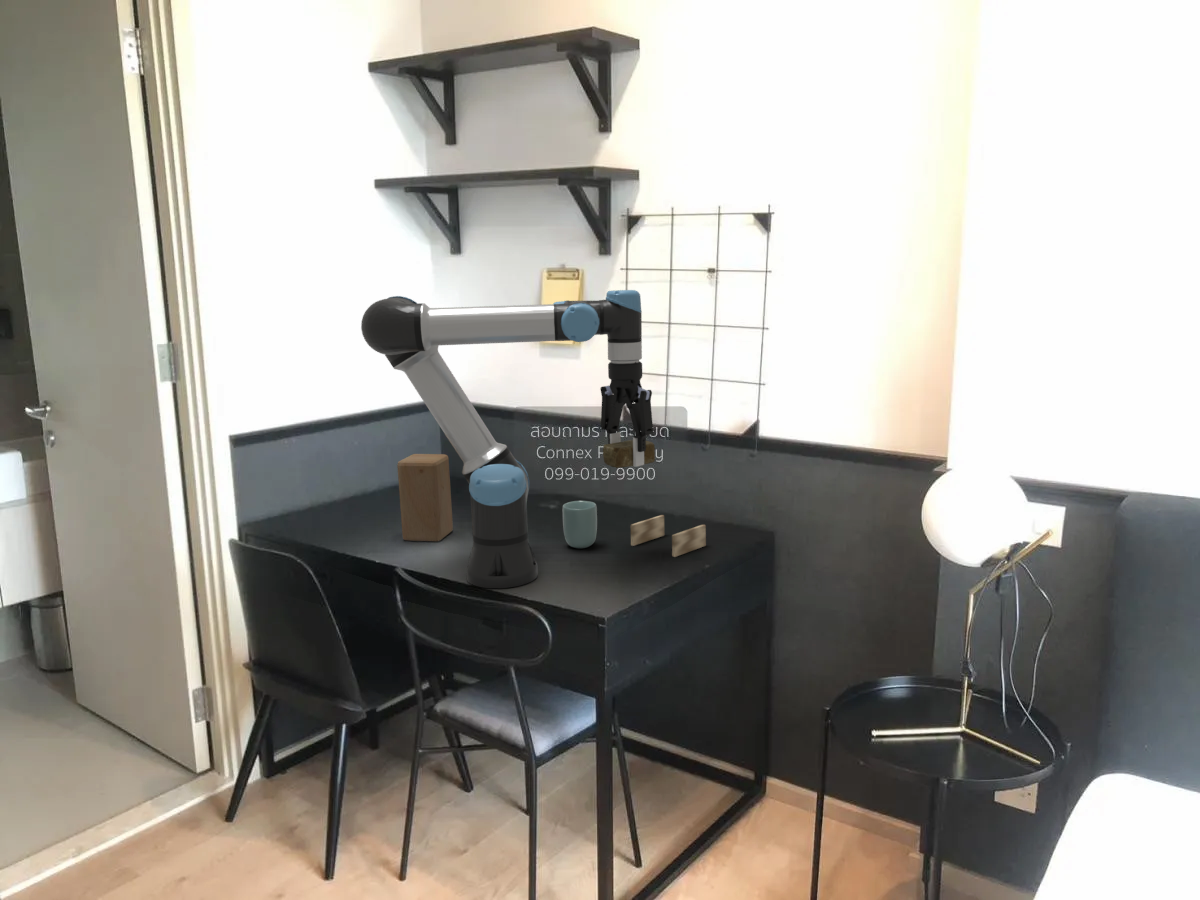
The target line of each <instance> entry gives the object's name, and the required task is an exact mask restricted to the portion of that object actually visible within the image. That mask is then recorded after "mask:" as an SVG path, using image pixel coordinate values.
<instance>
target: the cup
mask: <svg viewBox="0 0 1200 900" xmlns="http://www.w3.org/2000/svg"><path fill="white" fill-rule="evenodd" d="M597 511H598V508H597V504H596V503H595V502H593V501H589V500H574V501H569V502H566V503H564V504H563V505H562V526H563V527H562V529H563V535H564V539H565V542H566V543H567V545H568V546H570V547H571V548H575V549H586V548H589V547H591V546H593V544H594V543H595V541H596V538H597V532H598V530H597V529H598V515H597V514H598V512H597Z"/></svg>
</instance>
